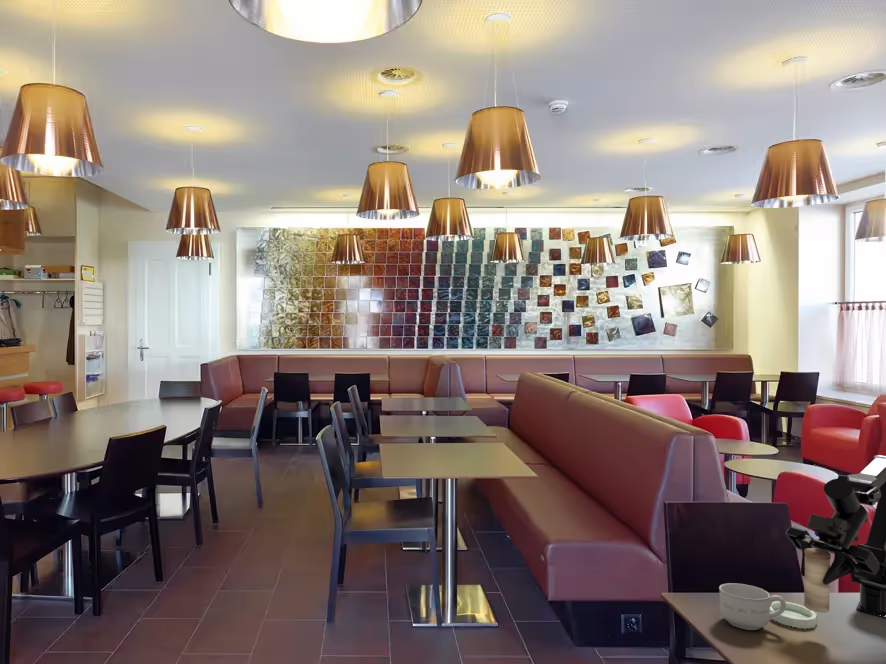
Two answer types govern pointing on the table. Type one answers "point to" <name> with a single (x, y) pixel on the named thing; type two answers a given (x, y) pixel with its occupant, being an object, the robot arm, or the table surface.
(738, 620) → the teacup
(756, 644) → the table surface
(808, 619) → the bowl
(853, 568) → the robot arm
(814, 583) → the canister
